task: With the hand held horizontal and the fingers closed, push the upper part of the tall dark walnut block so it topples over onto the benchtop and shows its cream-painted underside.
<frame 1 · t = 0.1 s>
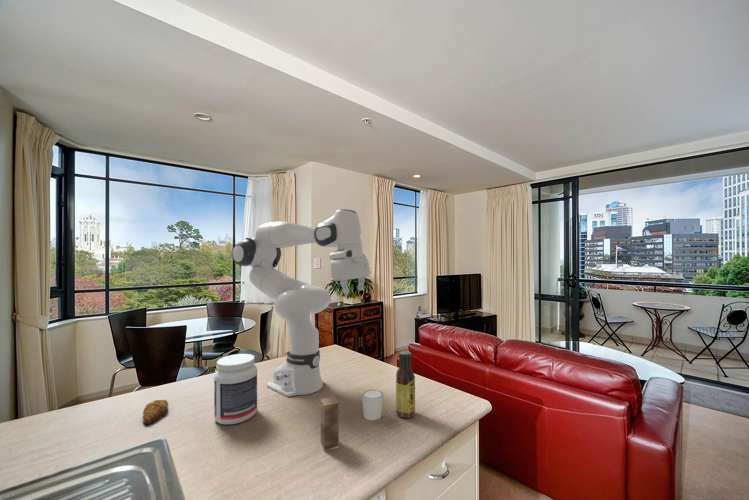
hand: (353, 291, 111), 39 cm above the kitchen counter, tool pointing down, fingers open, 8 cm apart
white tapered cylinder: (372, 416, 100), on the kitchen counter
croissant: (155, 416, 101), on the kitchen counter
supplement tub: (236, 416, 100), on the kitchen counter
walnut block: (329, 445, 84), on the kitchen counter
sauce bottle: (405, 414, 101), on the kitchen counter
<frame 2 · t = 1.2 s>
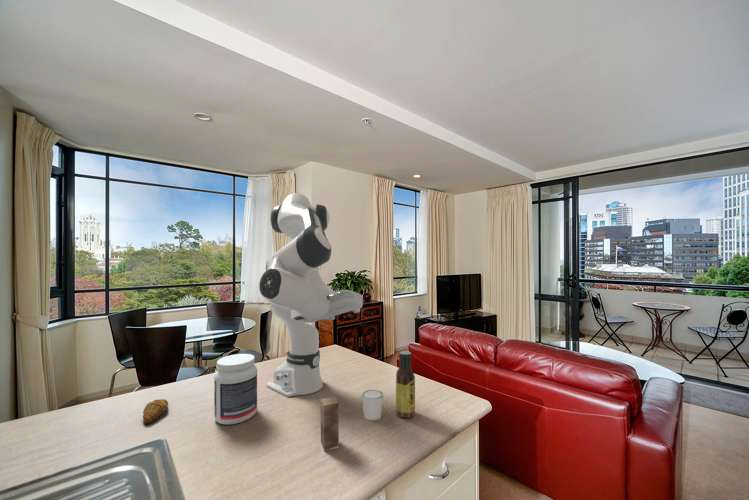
hand: (345, 313, 94), 34 cm above the kitchen counter, tool tilted 65°, fingers open, 8 cm apart
nothing on the kitchen counter moved.
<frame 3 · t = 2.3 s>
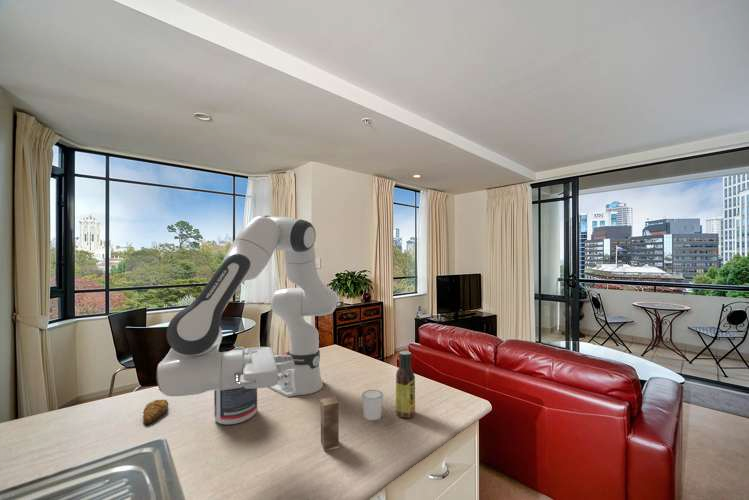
hand: (293, 361, 81), 24 cm above the kitchen counter, tool horizontal, fingers open, 3 cm apart
nothing on the kitchen counter moved.
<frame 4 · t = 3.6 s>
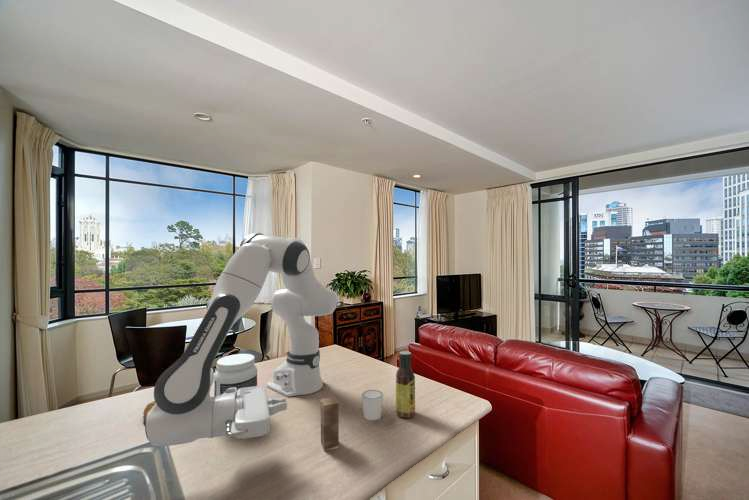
hand: (286, 403, 80), 14 cm above the kitchen counter, tool horizontal, fingers closed
nothing on the kitchen counter moved.
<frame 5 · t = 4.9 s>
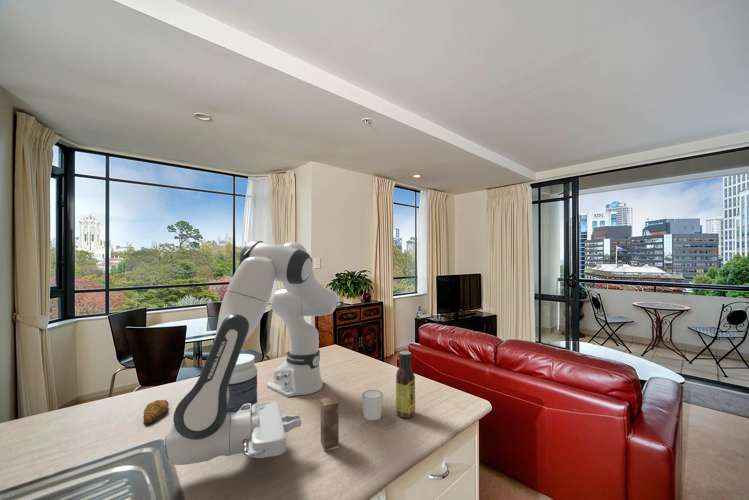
hand: (300, 420, 82), 8 cm above the kitchen counter, tool horizontal, fingers closed
nothing on the kitchen counter moved.
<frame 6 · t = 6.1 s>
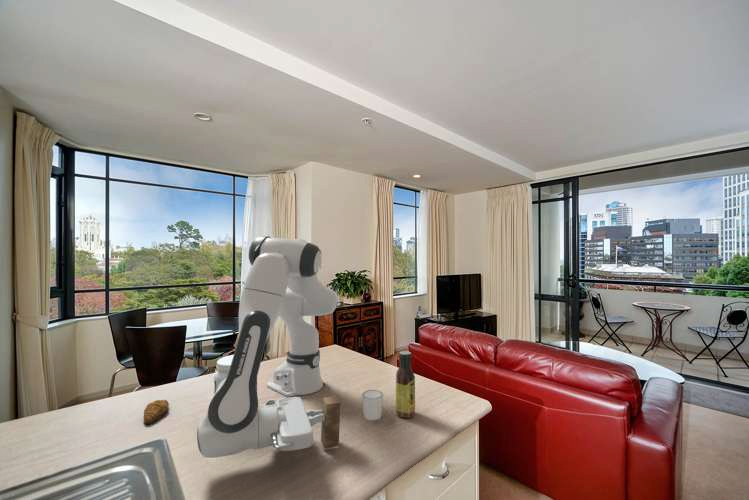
hand: (323, 415, 84), 8 cm above the kitchen counter, tool horizontal, fingers closed, pressing on walnut block
walnut block: (329, 444, 84), on the kitchen counter, touching gripper
everything else where it was.
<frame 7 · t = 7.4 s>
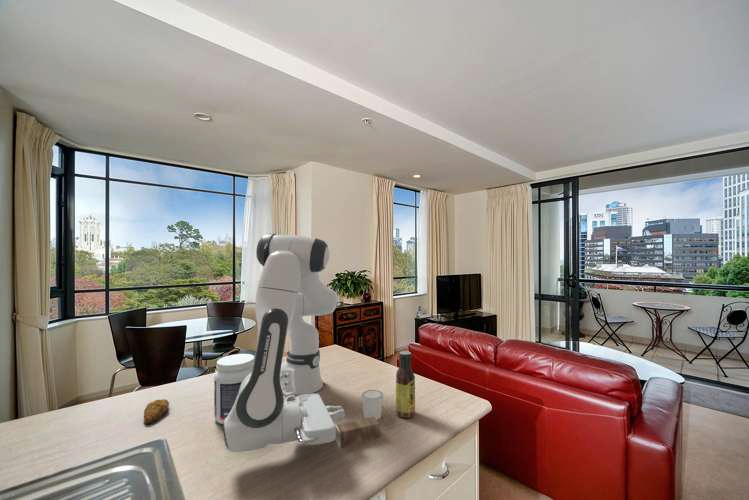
hand: (343, 410, 86), 9 cm above the kitchen counter, tool horizontal, fingers closed
walnut block: (337, 436, 85), point 2 cm above the kitchen counter, tilted 90°
everything else where it was.
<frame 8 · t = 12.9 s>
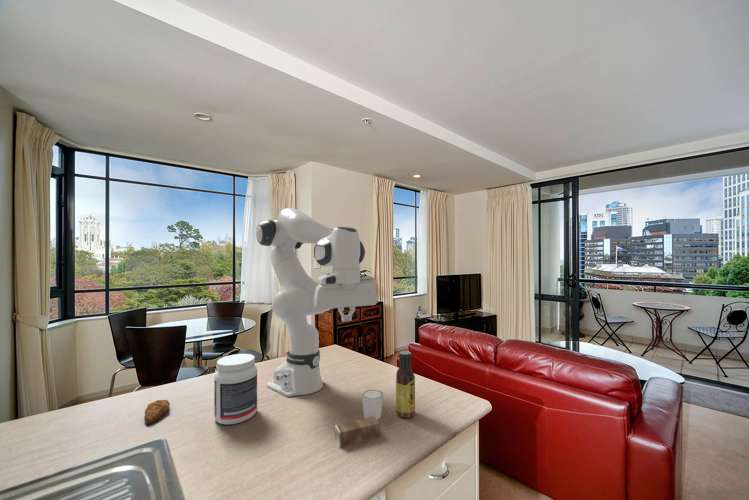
hand: (346, 321, 98), 31 cm above the kitchen counter, tool pointing down, fingers closed
nothing on the kitchen counter moved.
at the end: walnut block tilted 90°; walnut block inside the target area (5.4 cm from its centre), point 1.9 cm above the kitchen counter; the gripper is holding nothing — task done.
